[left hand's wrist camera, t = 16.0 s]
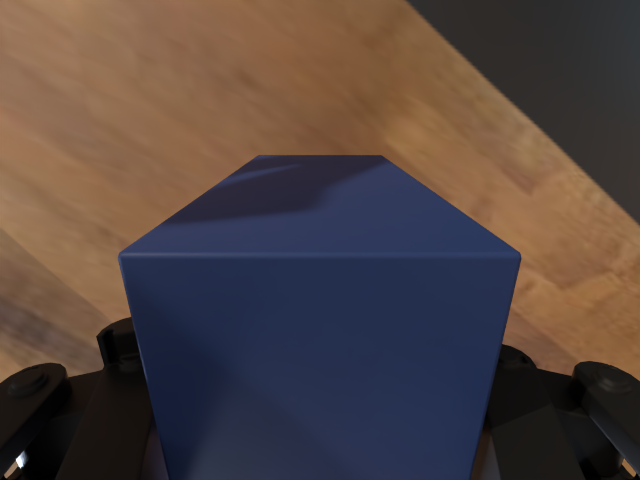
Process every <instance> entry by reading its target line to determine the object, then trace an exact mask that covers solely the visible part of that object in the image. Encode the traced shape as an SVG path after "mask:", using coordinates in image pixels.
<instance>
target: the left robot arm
mask: <svg viewBox="0 0 640 480" xmlns="http://www.w3.org/2000/svg"><path fill="white" fill-rule="evenodd" d="M96 337H97V341H98V345H99V348H100V352H101V355H102V359H103V362H104V368H103V370H100V371H96V372H92V373H87V374H83V375H78V376H73V377H68V374H67V371H66V368H65V367H64V366H62V365H61V364H57V363H45V364H38V365H34V366H32V367H28V368H25V369H23V370H21V371H19V372H17V373H15V374H13V375H11V376H10V377H8V378H7V379H5V380H4V381H3V382H1V383H0V480H169V478H168V474H167V469H166V465H165V461H164V456H163V452H162V447H161V443H160V439H159V434H158V430H157V426H156V421H155V417H154V413H153V408H152V404H151V400H150V395H149V391H148V387H147V382H146V378H145V373H144V369H143V365H142V360H141V356H140V352H139V347H138V343H137V339H136V334H135V330H134V326H133V321H132V317H129V318H125V319H122V320H119V321H117V322H114V323H112V324H110V325H109V326H107V327H106V328H104V329H103V330H102V331H101V332H100V333H99V334H98V335H97V336H96ZM624 458H625V460H626V461H627V462H628V463H629V464H630V466H631V467H632V468H633V469H634V470H635V472H636V473H637V474H636V476H635V477H633V476H632V475H631V474H630V473H629V472H628V471H627V470H626V469H625V468H624V466H623V465H622V462H623V460H624ZM16 460H17V463H18V465H19V466H18V467H17V468H16V469H15V471H14V472H13V473H12V474H11V475H10V476H9V477H8V478H5V476H4V474H5V473H6V472H7V470H8V469H9V468H10V467H11V465H12V464H13V463H14V462H15V461H16ZM471 480H640V381H639V380H637V379H636V378H634V377H633V376H632V375H630V374H628V373H626V372H624V371H622V370H620V369H619V368H617V367H614V366H611V365H608V364H604V363H599V362H592V361H587V362H580V363H579V364H577V365H576V366H575V367H574V370H573V374H572V376H569V375H564V374H560V373H555V372H550V371H545V370H542V369H538V368H537V367H536V365H535V364H534V362H533V361H532V360H531V358H530V357H528V356H527V355H526V354H524V353H523V352H522V351H520V350H518V349H515V348H513V347H511V346H508V345H504V344H502V345H501V350H500V354H499V358H498V363H497V367H496V371H495V376H494V380H493V384H492V389H491V393H490V398H489V402H488V406H487V411H486V415H485V419H484V424H483V428H482V433H481V437H480V441H479V446H478V450H477V454H476V459H475V463H474V467H473V472H472V476H471Z"/></svg>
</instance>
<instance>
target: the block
mask: <svg viewBox="0 0 640 480" xmlns="http://www.w3.org/2000/svg"><path fill="white" fill-rule="evenodd" d="M118 260H119V265H120V269H121V273H122V278H123V282H124V286H125V291H126V295H127V299H128V304H129V308H130V313H131V317H132V321H133V326H134V330H135V334H136V339H137V343H138V347H139V352H140V356H141V360H142V365H143V369H144V373H145V378H146V382H147V387H148V391H149V395H150V400H151V404H152V408H153V413H154V417H155V421H156V426H157V430H158V434H159V439H160V443H161V447H162V452H163V456H164V461H165V465H166V469H167V474H168V478H169V480H471V476H472V472H473V467H474V463H475V459H476V454H477V450H478V446H479V441H480V437H481V433H482V428H483V424H484V419H485V415H486V411H487V406H488V402H489V398H490V393H491V389H492V384H493V380H494V376H495V371H496V367H497V363H498V358H499V354H500V350H501V345H502V341H503V336H504V332H505V328H506V323H507V319H508V315H509V310H510V306H511V302H512V297H513V293H514V288H515V284H516V280H517V275H518V271H519V267H520V262H521V254H520V252H518V251H517V250H515V249H514V248H513V247H511V246H510V245H508V244H507V243H505V242H504V241H503V240H501V239H500V238H498V237H497V236H495V235H494V234H493V233H491V232H490V231H488V230H487V229H485V228H484V227H483V226H481V225H480V224H478V223H477V222H476V221H474V220H473V219H471V218H470V217H468V216H467V215H466V214H464V213H463V212H461V211H460V210H458V209H457V208H456V207H454V206H453V205H451V204H450V203H449V202H447V201H446V200H444V199H443V198H441V197H440V196H439V195H437V194H436V193H434V192H433V191H431V190H430V189H429V188H427V187H426V186H424V185H423V184H421V183H420V182H419V181H417V180H416V179H414V178H413V177H412V176H410V175H409V174H407V173H406V172H404V171H403V170H402V169H400V168H399V167H397V166H396V165H394V164H393V163H392V162H390V161H389V160H387V159H386V158H385V157H383V156H381V155H259V156H257V157H255V158H254V159H252V160H251V161H250V162H248V163H247V164H245V165H244V166H242V167H241V168H240V169H238V170H237V171H235V172H234V173H232V174H231V175H230V176H228V177H227V178H225V179H224V180H223V181H221V182H220V183H218V184H217V185H215V186H214V187H213V188H211V189H210V190H208V191H207V192H205V193H204V194H203V195H201V196H200V197H198V198H197V199H195V200H194V201H193V202H191V203H190V204H188V205H187V206H185V207H184V208H183V209H181V210H180V211H178V212H177V213H175V214H174V215H173V216H171V217H170V218H168V219H167V220H165V221H164V222H163V223H161V224H160V225H158V226H157V227H155V228H154V229H153V230H151V231H150V232H148V233H147V234H146V235H144V236H143V237H141V238H140V239H138V240H137V241H136V242H134V243H133V244H131V245H130V246H128V247H127V248H126V249H124V250H123V251H121V252H120V253H119V256H118Z"/></svg>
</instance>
